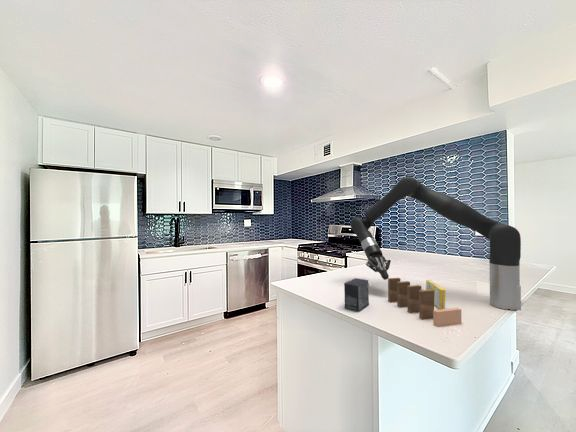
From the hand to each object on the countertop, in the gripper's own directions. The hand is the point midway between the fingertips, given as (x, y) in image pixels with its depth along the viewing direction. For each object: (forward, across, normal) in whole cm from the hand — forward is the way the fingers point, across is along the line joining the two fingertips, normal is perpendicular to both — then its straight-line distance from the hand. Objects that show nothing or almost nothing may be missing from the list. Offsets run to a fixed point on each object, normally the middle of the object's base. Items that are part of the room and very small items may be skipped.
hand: (386, 278), depth 112 cm
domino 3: (+18, 0, -6) cm, 19 cm away
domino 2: (+14, 0, -2) cm, 14 cm away
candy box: (+15, +15, -2) cm, 21 cm away
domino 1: (+10, 0, +2) cm, 10 cm away
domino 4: (+23, 0, -11) cm, 25 cm away
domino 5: (+25, -2, -16) cm, 30 cm away
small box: (+11, -19, +1) cm, 22 cm away
